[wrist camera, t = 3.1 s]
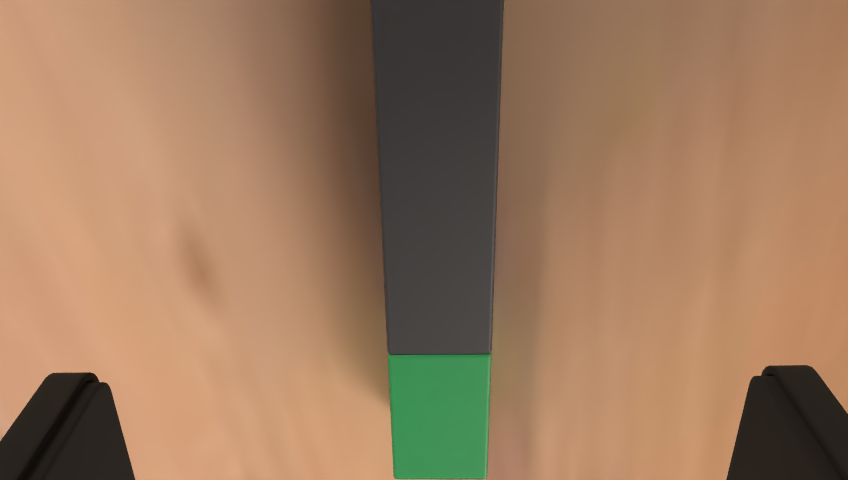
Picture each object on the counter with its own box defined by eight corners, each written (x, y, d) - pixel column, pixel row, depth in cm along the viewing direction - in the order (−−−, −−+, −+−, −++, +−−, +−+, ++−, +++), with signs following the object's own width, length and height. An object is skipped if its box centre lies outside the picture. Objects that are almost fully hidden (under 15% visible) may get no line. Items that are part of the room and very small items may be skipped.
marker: (373, -134, 14) (363, -127, 12) (497, -136, 14) (508, -130, 12) (397, 415, 21) (393, 480, 19) (482, 415, 21) (487, 480, 19)
